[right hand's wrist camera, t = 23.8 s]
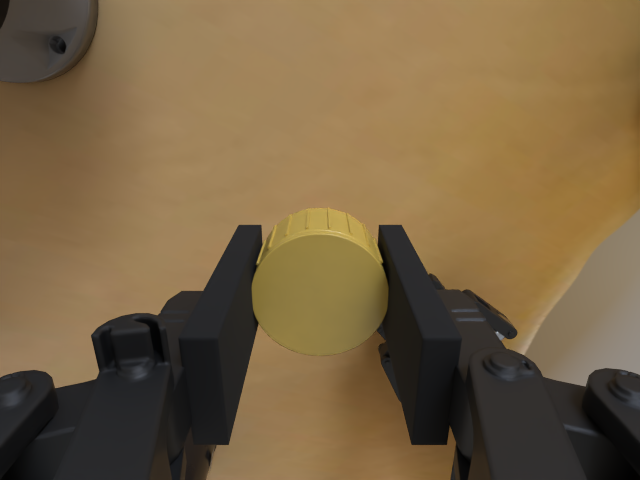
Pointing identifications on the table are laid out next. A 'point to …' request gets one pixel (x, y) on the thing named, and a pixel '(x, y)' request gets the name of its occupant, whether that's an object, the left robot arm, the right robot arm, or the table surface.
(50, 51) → the right robot arm
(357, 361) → the table surface
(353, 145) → the table surface
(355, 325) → the cap
